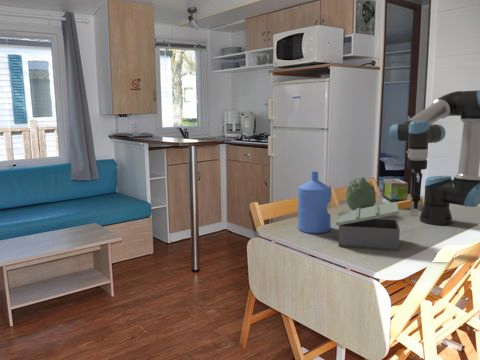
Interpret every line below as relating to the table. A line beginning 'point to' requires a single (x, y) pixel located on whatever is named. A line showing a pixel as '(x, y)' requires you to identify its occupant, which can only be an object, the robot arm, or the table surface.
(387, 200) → the tea box
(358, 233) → the parts tub
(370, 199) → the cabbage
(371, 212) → the lid
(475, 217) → the table surface
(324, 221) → the water jug
